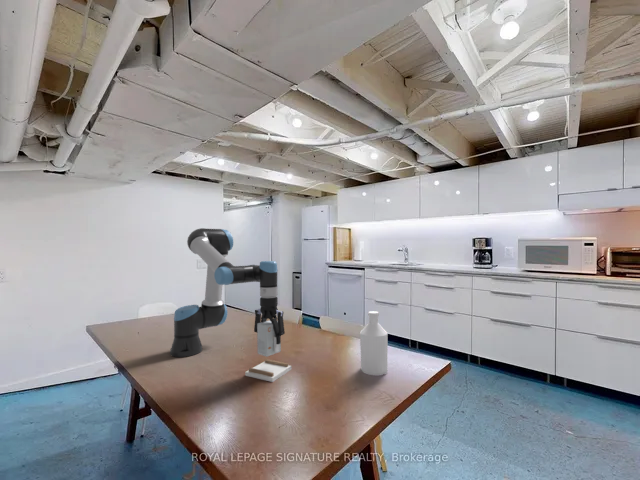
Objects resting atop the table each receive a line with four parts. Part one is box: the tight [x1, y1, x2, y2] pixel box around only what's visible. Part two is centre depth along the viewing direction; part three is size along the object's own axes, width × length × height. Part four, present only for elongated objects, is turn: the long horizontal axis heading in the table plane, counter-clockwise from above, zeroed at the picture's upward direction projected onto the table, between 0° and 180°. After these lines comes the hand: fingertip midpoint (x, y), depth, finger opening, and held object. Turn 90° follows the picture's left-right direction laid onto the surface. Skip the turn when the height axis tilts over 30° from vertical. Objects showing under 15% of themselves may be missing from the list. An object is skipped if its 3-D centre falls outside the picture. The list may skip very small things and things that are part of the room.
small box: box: [256, 319, 282, 358], centre depth 128 cm, size 8×6×13 cm
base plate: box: [244, 358, 292, 383], centre depth 127 cm, size 14×14×3 cm
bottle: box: [359, 310, 389, 376], centre depth 129 cm, size 12×12×25 cm
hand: (269, 350), depth 128 cm, fingers closed on small box, 7 cm apart
